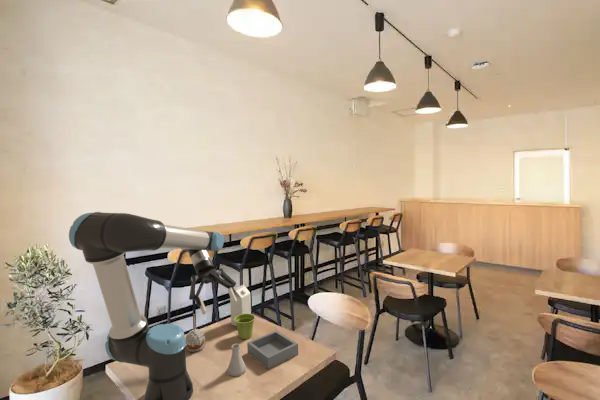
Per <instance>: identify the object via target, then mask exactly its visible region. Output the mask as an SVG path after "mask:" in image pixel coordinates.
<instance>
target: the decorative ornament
mask: <svg viewBox="0 0 600 400" xmlns="http://www.w3.org/2000/svg"><path fill="white" fill-rule="evenodd" d="M192 318H193V321H192V322H193V329H191V330H190V331H189V332H188V333H187V334H186V337H185V341H186V345H185V347H186V352H199V351H201V350H203V349H204V348H205V347H206V342H205V341H206V337H205V333H204V332H203V330H201V329H198V328H197V327H196V325H197V324H196V314H195V313H193V314H192Z"/></svg>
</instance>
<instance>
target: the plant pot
mask: <svg viewBox="0 0 600 400" xmlns="http://www.w3.org/2000/svg"><path fill="white" fill-rule="evenodd" d="M255 320H256V316H255V315H254V314H252V313H251V314H240V315H238V316H236V317H235V318H234V321H235V322H236V325H237V326H236V329H237V334H238V335H237V336H238V339H241V340H249V339H250V338H251V337H253V332H254V331H253V329H254V322H255Z"/></svg>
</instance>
